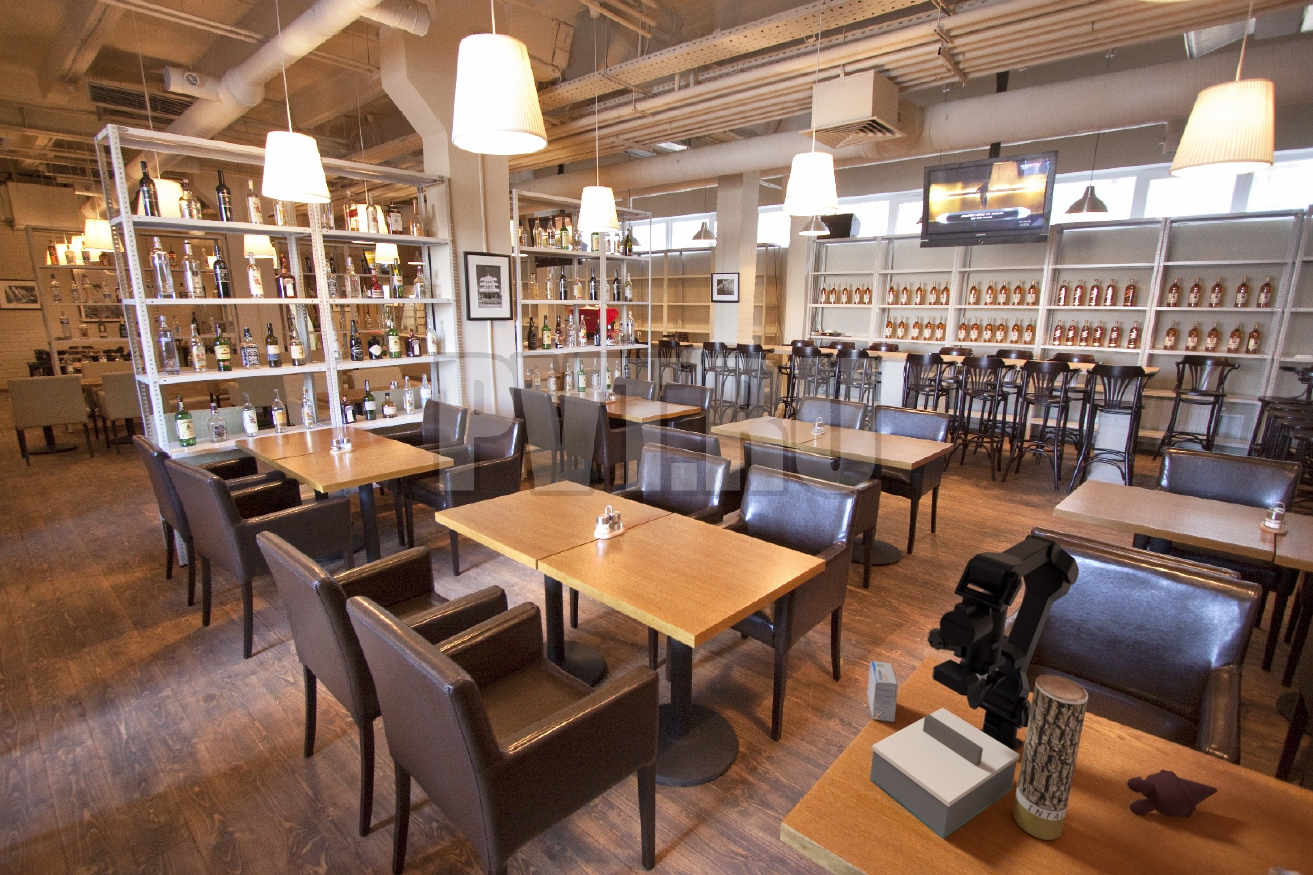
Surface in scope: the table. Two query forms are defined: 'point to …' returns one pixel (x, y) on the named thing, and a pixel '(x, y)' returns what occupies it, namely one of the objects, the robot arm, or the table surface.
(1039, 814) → the paper tube
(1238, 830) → the table surface
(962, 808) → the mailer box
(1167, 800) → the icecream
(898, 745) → the lid
